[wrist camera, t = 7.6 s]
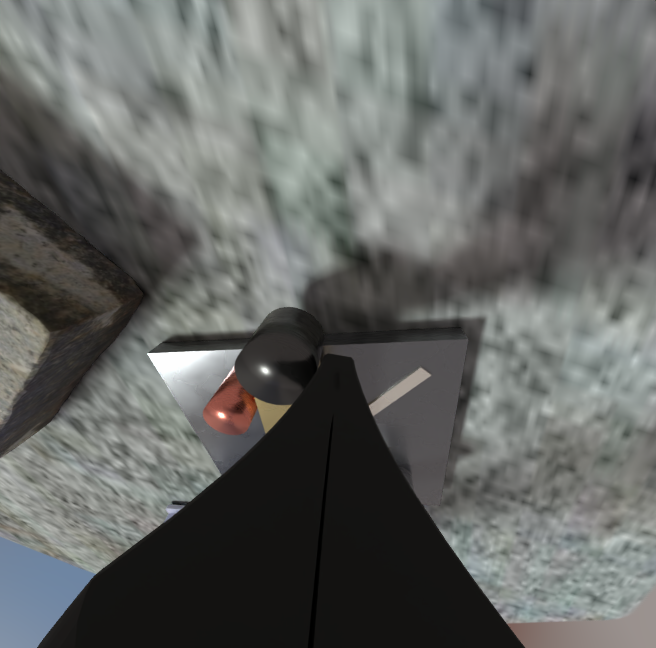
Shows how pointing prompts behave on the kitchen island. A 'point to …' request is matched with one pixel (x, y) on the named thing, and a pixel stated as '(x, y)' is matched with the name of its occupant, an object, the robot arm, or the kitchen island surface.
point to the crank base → (375, 379)
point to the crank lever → (280, 361)
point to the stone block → (50, 311)
